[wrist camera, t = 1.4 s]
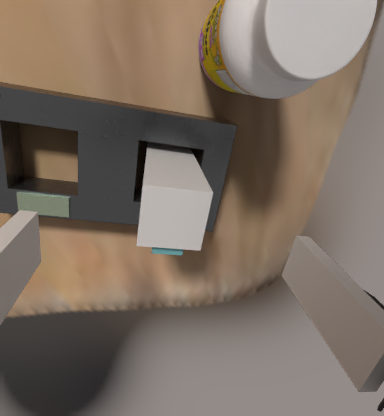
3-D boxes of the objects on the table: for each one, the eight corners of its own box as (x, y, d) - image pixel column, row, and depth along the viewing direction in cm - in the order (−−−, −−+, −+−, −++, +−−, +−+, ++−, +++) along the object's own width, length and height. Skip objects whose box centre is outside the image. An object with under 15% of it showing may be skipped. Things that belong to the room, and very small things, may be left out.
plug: (147, 142, 25) (142, 184, 15) (190, 148, 25) (213, 192, 15) (142, 190, 26) (135, 256, 17) (182, 195, 27) (198, 261, 17)
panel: (-17, 79, 21) (-44, 79, 18) (228, 120, 25) (237, 126, 22) (-1, 196, 25) (-22, 212, 22) (207, 217, 29) (212, 232, 26)
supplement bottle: (228, -24, 20) (326, -163, 9) (291, 35, 22) (437, -13, 11) (180, 61, 22) (208, 41, 11) (242, 107, 24) (321, 132, 13)
